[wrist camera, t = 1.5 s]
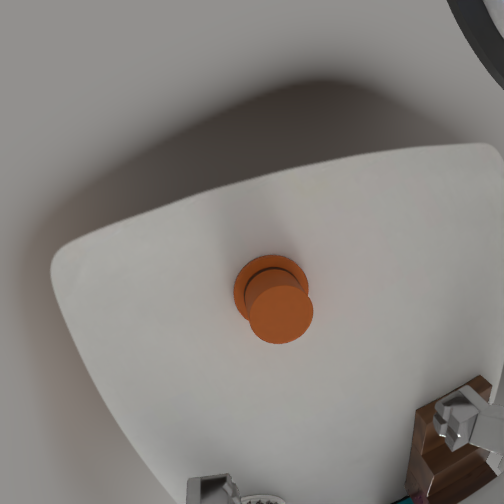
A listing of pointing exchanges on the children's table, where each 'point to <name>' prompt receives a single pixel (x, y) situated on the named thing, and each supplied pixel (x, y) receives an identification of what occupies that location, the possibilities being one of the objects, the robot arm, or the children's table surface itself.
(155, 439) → the children's table surface
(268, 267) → the hat
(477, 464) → the stand
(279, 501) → the decorative candle
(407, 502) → the toy
